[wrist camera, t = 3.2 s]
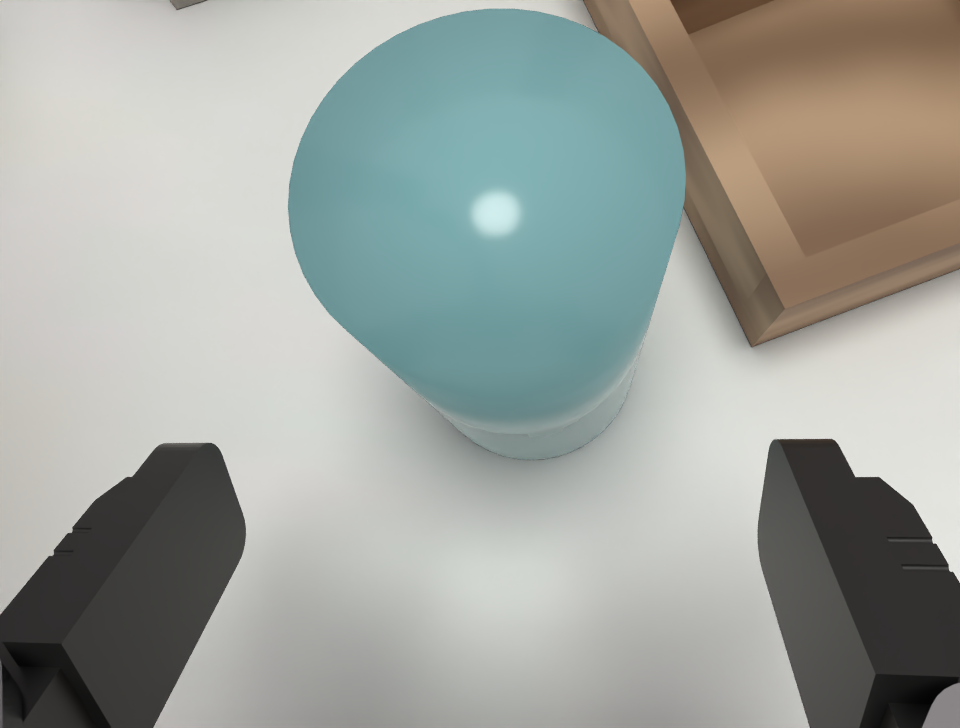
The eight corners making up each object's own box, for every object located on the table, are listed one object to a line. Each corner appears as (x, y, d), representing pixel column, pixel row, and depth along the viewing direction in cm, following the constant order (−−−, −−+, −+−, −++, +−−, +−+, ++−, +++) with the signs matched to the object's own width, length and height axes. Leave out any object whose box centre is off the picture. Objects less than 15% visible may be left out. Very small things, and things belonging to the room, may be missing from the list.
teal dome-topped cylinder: (407, 306, 22) (246, 94, 12) (588, 236, 22) (593, -47, 11) (469, 490, 21) (351, 436, 10) (666, 416, 20) (757, 281, 10)
